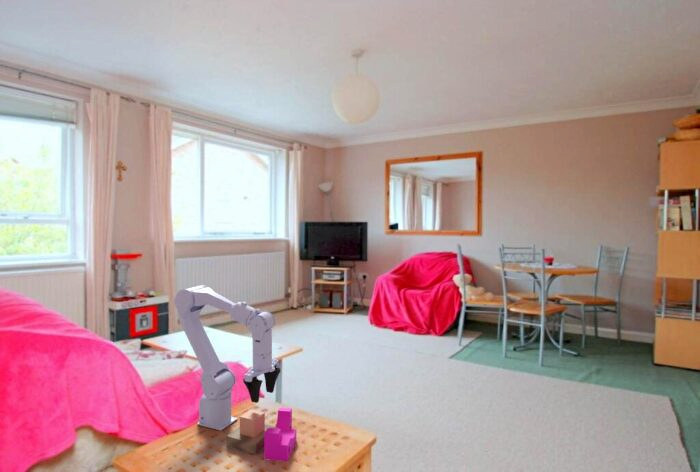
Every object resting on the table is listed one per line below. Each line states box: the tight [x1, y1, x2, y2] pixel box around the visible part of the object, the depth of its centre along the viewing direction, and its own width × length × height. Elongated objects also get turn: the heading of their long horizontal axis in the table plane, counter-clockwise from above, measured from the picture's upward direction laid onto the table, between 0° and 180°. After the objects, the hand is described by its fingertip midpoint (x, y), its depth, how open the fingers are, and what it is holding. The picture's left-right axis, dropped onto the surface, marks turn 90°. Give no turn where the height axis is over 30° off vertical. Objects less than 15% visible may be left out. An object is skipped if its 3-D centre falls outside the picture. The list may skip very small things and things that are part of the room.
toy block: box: [263, 407, 297, 462], centre depth 118 cm, size 15×6×8 cm, turn 174°
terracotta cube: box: [239, 409, 266, 438], centre depth 120 cm, size 5×5×5 cm
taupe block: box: [226, 424, 276, 455], centre depth 120 cm, size 10×10×3 cm
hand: (262, 396), depth 126 cm, fingers open, 7 cm apart
